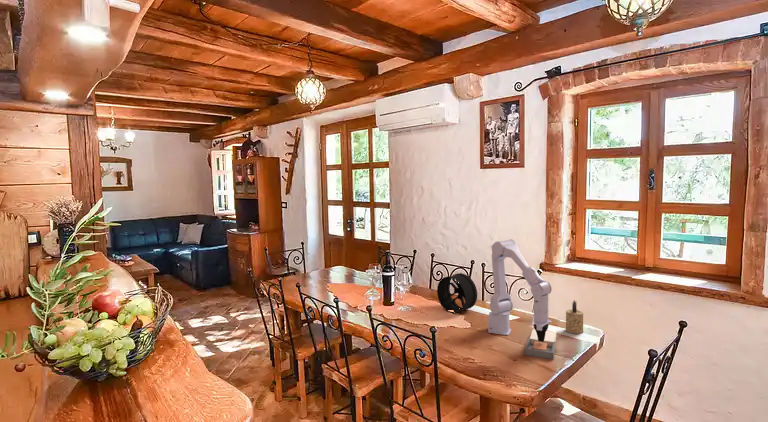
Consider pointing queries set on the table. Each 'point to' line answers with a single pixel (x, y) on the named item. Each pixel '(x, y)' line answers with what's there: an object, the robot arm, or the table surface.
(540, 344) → the tile
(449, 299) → the car wheel rim
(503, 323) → the robot arm
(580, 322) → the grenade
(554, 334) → the board
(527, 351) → the tray
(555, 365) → the table surface
